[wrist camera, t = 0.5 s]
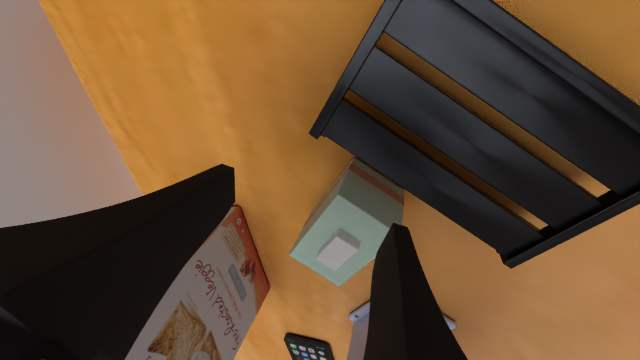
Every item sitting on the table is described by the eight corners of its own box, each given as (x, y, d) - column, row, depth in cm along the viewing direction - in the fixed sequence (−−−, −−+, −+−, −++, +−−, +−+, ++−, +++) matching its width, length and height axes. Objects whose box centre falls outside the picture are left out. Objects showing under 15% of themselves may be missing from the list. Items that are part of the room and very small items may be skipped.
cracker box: (273, 288, 34) (139, 549, 17) (236, 281, 36) (83, 509, 19) (243, 204, 28) (-27, 498, 11) (199, 200, 29) (-88, 445, 13)
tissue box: (351, 241, 26) (336, 296, 21) (309, 214, 25) (284, 262, 20) (404, 190, 21) (402, 244, 16) (353, 156, 21) (334, 200, 16)
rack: (496, 231, 20) (519, 290, 16) (324, 115, 20) (298, 144, 15) (650, 135, 14) (756, 186, 10) (412, -35, 14) (412, -60, 9)
